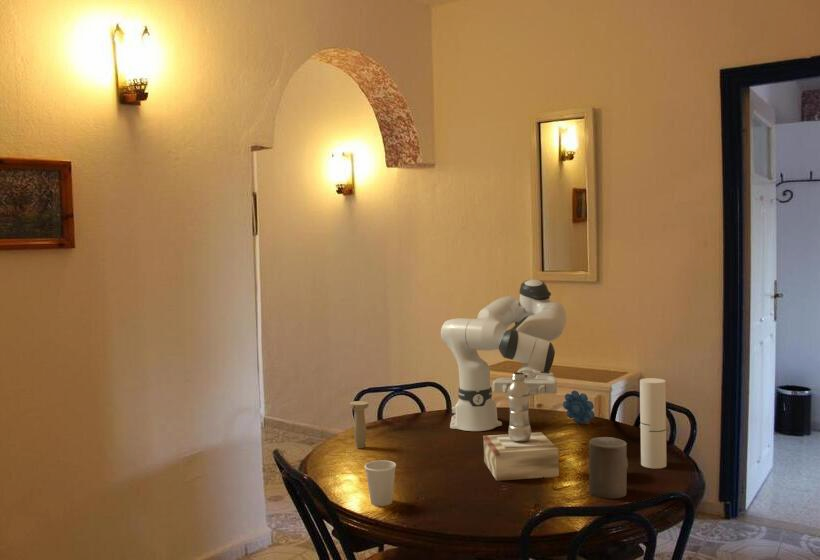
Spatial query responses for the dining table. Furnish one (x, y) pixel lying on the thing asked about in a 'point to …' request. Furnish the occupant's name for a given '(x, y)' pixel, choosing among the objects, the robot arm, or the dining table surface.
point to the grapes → (578, 407)
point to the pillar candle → (608, 467)
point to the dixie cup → (380, 481)
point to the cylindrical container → (653, 422)
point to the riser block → (521, 457)
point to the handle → (359, 422)
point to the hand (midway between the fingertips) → (522, 391)
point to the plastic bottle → (519, 408)
